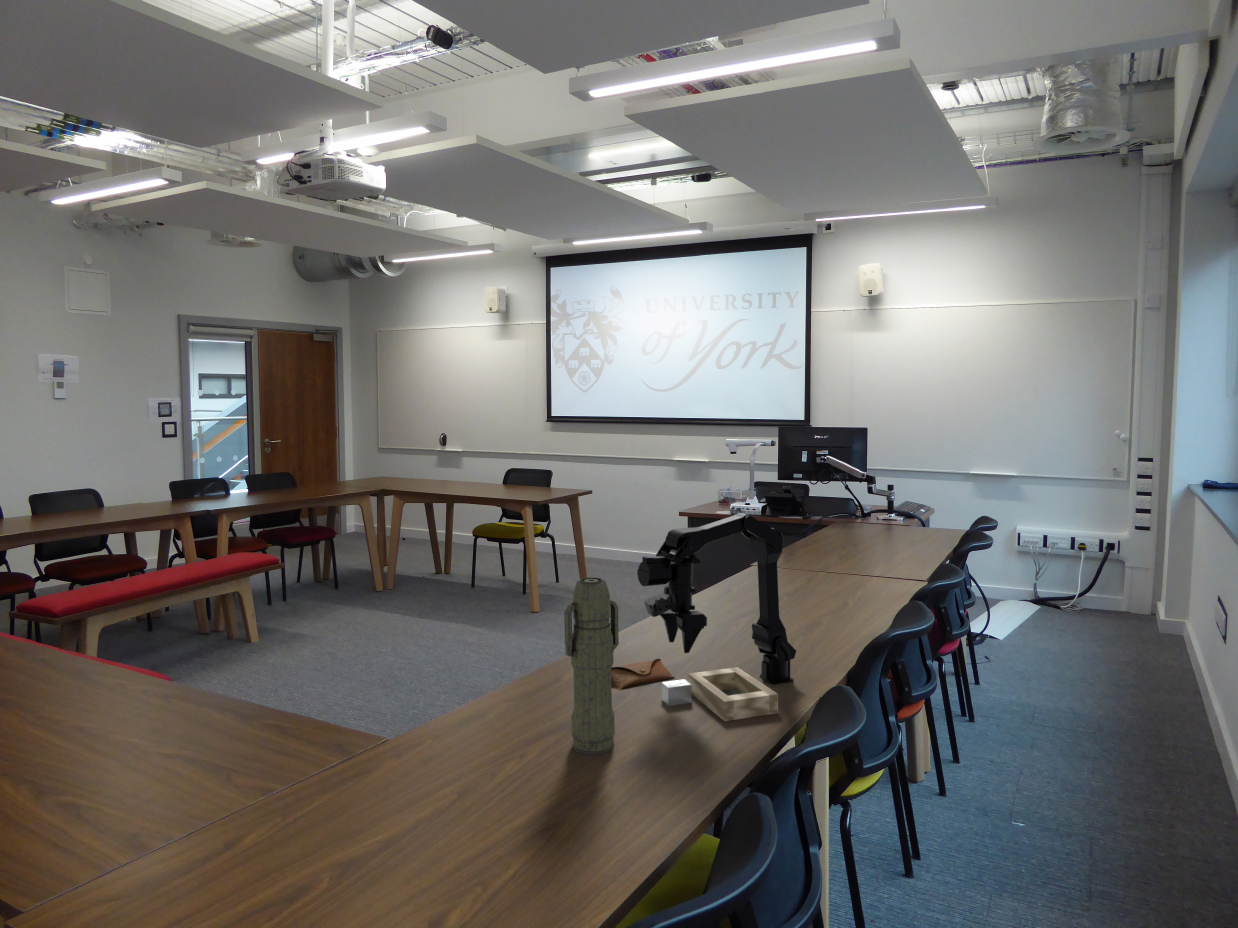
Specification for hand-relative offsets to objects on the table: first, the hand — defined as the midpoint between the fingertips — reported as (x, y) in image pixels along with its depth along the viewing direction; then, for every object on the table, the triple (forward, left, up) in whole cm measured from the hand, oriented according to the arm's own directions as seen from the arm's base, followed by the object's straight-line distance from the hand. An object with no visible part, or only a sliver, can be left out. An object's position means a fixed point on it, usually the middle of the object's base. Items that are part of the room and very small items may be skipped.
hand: (678, 647), depth 190 cm
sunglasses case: (+4, -17, -14) cm, 22 cm away
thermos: (+27, +18, -13) cm, 35 cm away
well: (-11, +6, -13) cm, 18 cm away
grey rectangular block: (+1, +1, -13) cm, 13 cm away
